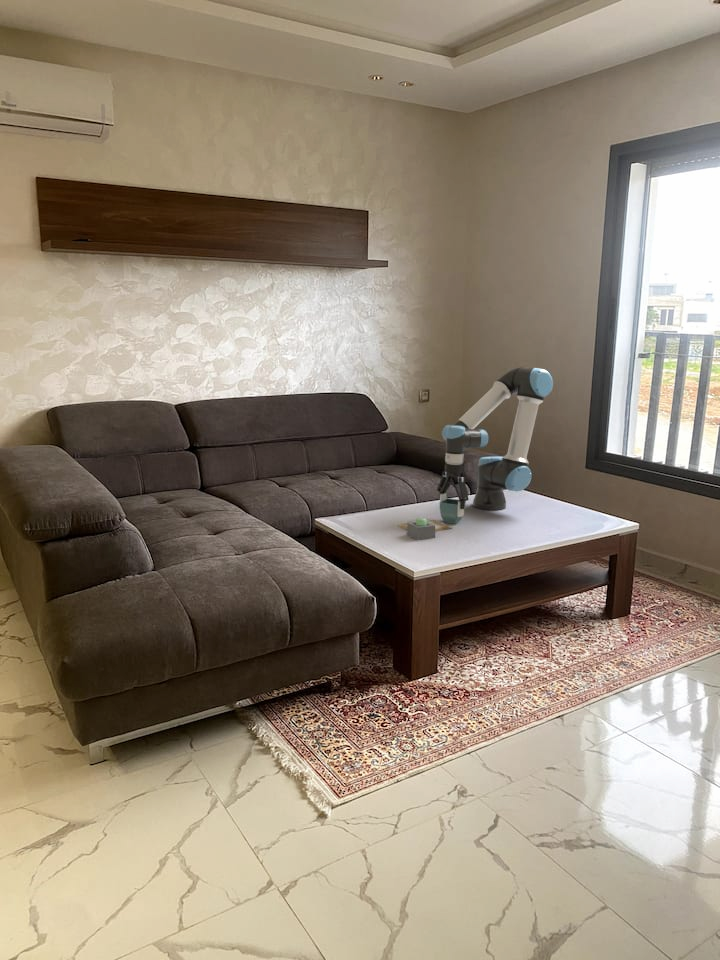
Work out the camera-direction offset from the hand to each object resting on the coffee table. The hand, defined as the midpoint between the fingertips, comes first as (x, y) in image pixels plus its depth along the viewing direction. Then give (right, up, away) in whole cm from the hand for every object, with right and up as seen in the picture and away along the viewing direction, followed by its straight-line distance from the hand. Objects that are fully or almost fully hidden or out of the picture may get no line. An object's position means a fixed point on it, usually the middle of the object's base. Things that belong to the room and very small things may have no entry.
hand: (451, 512), depth 317 cm
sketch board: (-12, -6, -8) cm, 15 cm away
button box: (-15, -8, -20) cm, 26 cm away
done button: (-14, -6, -21) cm, 26 cm away
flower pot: (0, -4, +1) cm, 4 cm away
